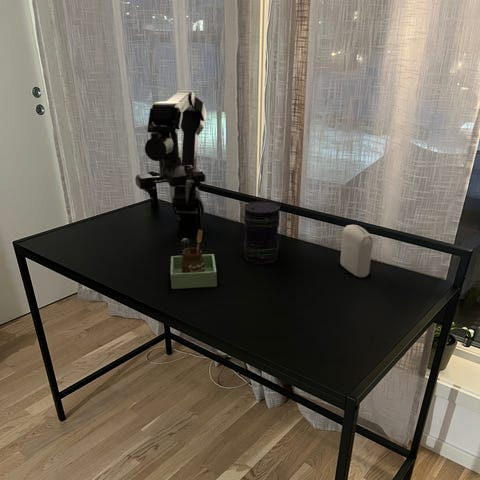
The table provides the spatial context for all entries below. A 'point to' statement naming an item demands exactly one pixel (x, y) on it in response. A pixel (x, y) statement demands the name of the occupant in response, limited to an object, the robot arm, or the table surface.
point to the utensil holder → (193, 258)
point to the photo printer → (356, 250)
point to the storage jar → (261, 231)
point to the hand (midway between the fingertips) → (172, 208)
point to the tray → (193, 274)
